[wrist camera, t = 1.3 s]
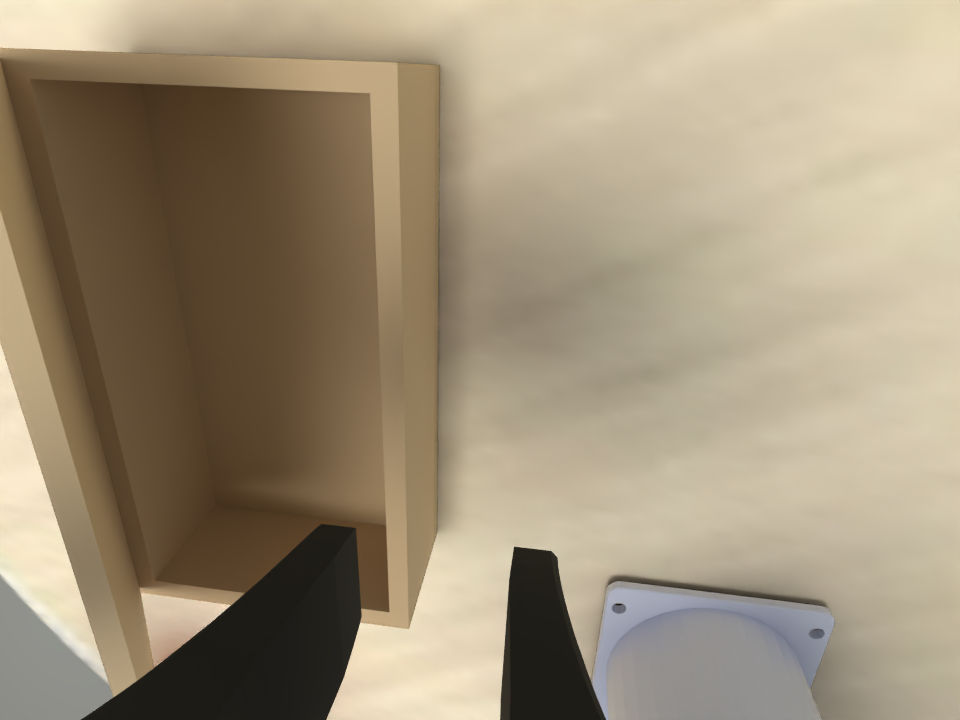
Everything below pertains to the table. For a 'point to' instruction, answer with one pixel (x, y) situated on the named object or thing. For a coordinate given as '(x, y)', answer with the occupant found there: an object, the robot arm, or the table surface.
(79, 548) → the lid flap
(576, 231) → the table surface
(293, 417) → the kraft box
